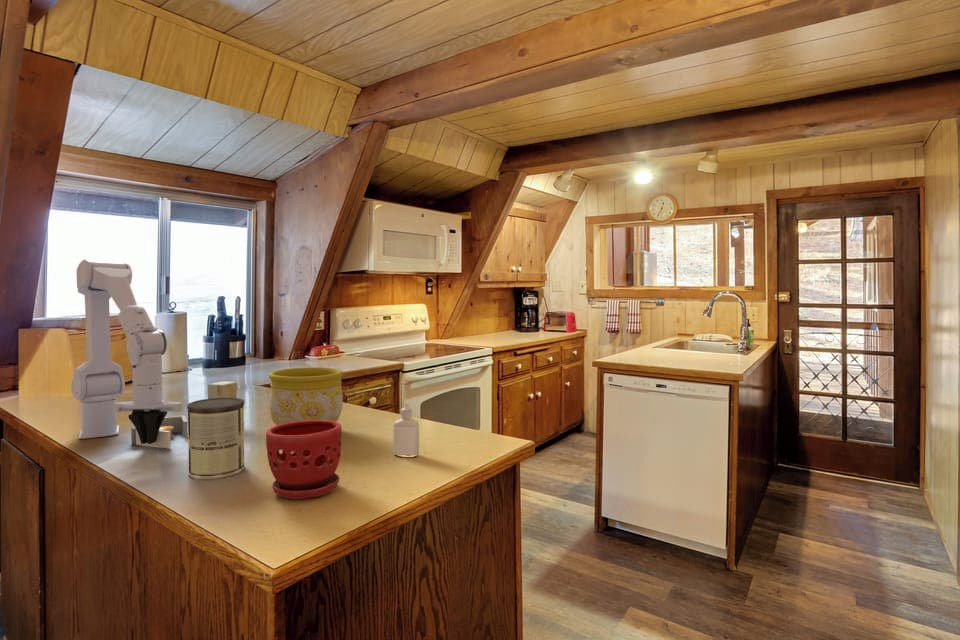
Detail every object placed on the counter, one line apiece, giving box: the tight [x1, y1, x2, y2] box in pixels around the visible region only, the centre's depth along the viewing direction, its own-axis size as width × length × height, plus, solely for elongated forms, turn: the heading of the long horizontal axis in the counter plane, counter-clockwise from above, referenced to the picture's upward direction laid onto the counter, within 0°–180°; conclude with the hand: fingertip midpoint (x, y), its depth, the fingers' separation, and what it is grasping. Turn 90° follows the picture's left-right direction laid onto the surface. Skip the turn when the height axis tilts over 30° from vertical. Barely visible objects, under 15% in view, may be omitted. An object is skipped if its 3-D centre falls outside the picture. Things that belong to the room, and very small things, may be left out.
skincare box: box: [207, 380, 237, 399], centre depth 138 cm, size 6×4×12 cm
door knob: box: [159, 426, 175, 439], centre depth 128 cm, size 5×5×2 cm
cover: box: [130, 426, 172, 449], centre depth 120 cm, size 1×11×4 cm, turn 75°
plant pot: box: [265, 420, 343, 500], centre depth 94 cm, size 13×13×12 cm
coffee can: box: [186, 397, 246, 480], centre depth 104 cm, size 10×10×14 cm
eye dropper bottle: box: [393, 402, 420, 456], centre depth 116 cm, size 4×6×12 cm
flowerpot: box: [268, 366, 344, 426], centre depth 132 cm, size 18×18×16 cm
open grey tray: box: [161, 415, 188, 439], centre depth 129 cm, size 8×11×4 cm
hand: (148, 442), depth 118 cm, fingers closed
